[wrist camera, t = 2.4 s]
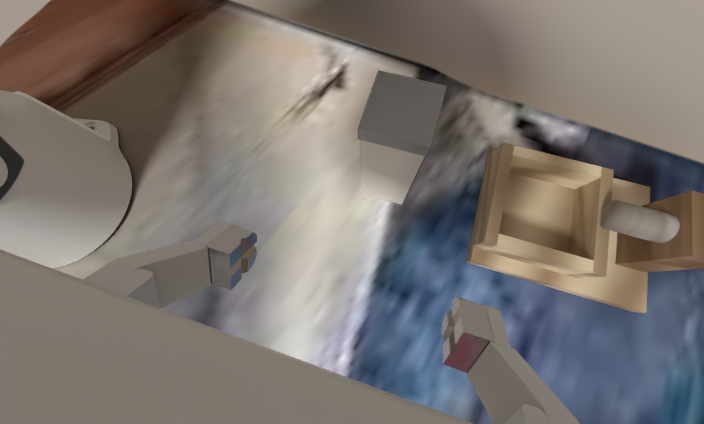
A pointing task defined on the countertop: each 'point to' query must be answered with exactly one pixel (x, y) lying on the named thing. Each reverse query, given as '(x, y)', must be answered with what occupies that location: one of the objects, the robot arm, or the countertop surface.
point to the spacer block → (396, 133)
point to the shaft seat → (581, 227)
